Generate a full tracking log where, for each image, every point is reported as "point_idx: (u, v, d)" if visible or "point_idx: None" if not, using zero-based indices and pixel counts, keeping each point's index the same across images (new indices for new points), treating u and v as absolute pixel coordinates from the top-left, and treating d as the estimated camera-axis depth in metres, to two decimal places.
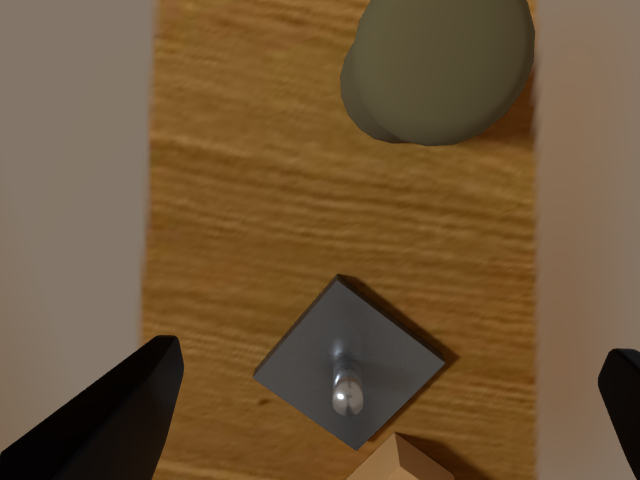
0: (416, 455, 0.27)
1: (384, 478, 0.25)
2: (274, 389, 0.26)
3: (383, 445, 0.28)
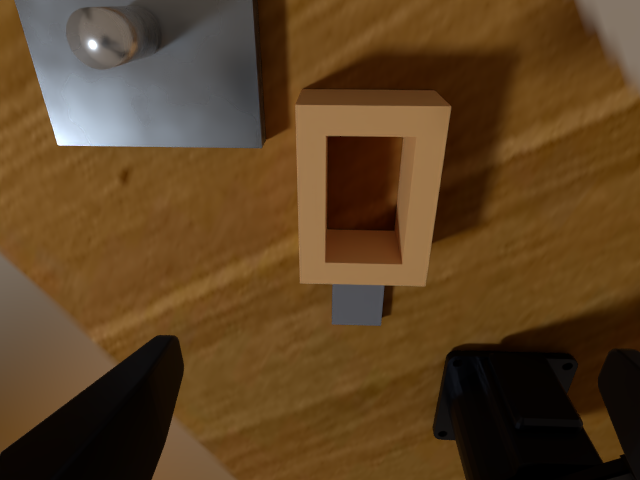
0: (346, 93, 0.16)
1: (296, 143, 0.15)
2: (94, 141, 0.17)
3: None
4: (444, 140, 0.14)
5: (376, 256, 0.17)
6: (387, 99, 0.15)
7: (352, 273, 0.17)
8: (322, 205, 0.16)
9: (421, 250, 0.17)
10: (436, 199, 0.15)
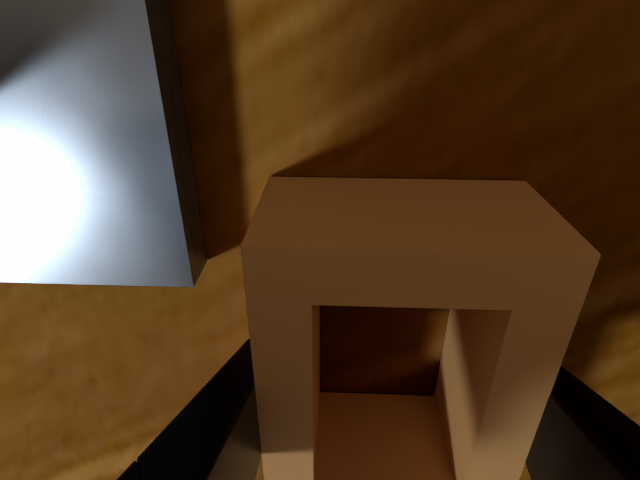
0: (355, 192, 0.08)
1: (249, 313, 0.07)
2: None
3: None
4: (573, 318, 0.07)
5: (408, 476, 0.09)
6: (444, 219, 0.07)
7: None
8: (306, 418, 0.08)
9: None
10: (540, 415, 0.08)
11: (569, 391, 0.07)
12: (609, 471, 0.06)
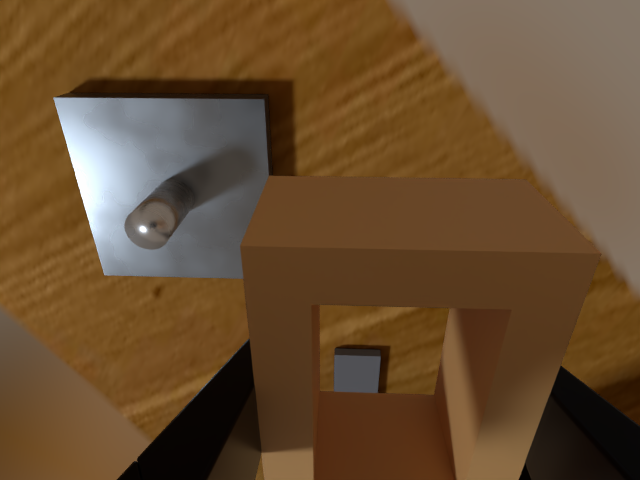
0: (354, 191, 0.08)
1: (248, 313, 0.07)
2: (134, 272, 0.20)
3: None
4: (573, 317, 0.06)
5: (408, 475, 0.09)
6: (443, 218, 0.07)
7: None
8: (306, 418, 0.08)
9: None
10: (540, 414, 0.08)
11: (569, 391, 0.07)
12: (609, 471, 0.06)
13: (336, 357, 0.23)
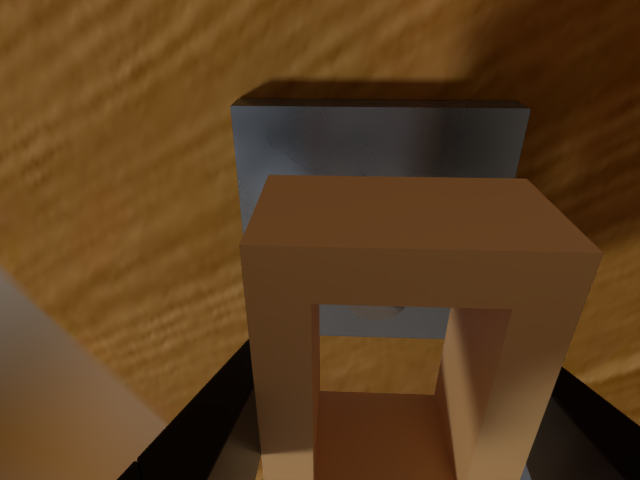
0: (354, 190, 0.08)
1: (248, 313, 0.07)
2: None
3: None
4: (575, 317, 0.06)
5: (409, 476, 0.09)
6: (444, 218, 0.07)
7: None
8: (306, 418, 0.08)
9: None
10: (541, 414, 0.07)
11: (569, 391, 0.07)
12: (609, 471, 0.06)
13: None
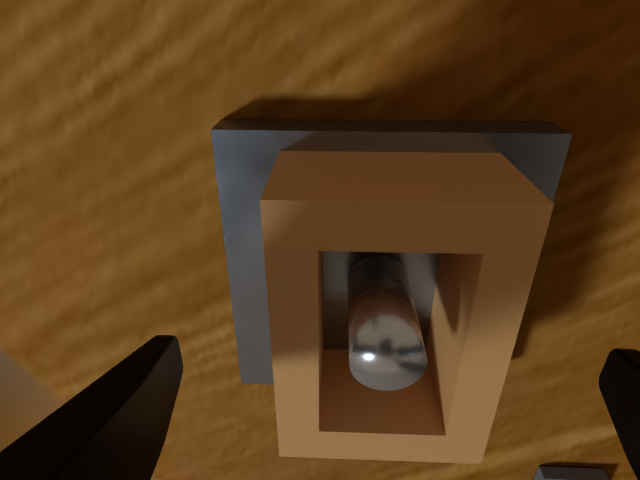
0: (353, 162, 0.09)
1: (265, 260, 0.08)
2: None
3: None
4: (535, 260, 0.08)
5: (401, 414, 0.11)
6: (428, 181, 0.08)
7: (363, 446, 0.11)
8: (312, 355, 0.09)
9: (478, 418, 0.10)
10: (511, 349, 0.09)
11: None
12: None
13: None
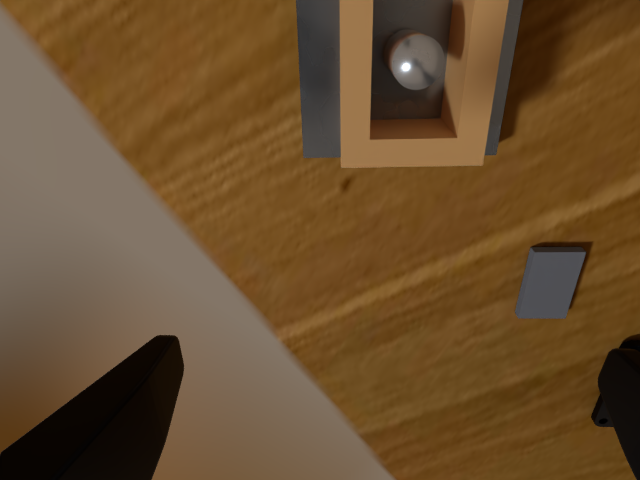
0: None
1: None
2: (338, 153, 0.18)
3: None
4: None
5: (426, 134, 0.15)
6: None
7: (400, 152, 0.15)
8: (367, 64, 0.14)
9: (479, 118, 0.15)
10: (499, 49, 0.13)
11: None
12: None
13: (536, 255, 0.21)
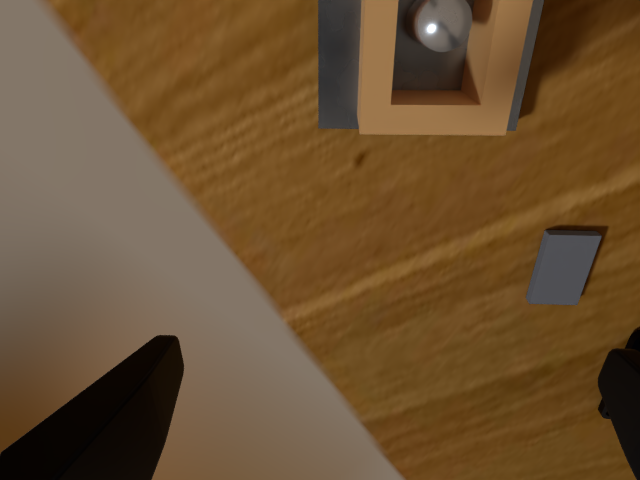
0: None
1: None
2: (354, 124, 0.18)
3: None
4: None
5: (448, 102, 0.15)
6: None
7: (422, 119, 0.15)
8: (392, 24, 0.13)
9: (504, 85, 0.14)
10: (529, 11, 0.13)
11: None
12: None
13: (550, 238, 0.20)
